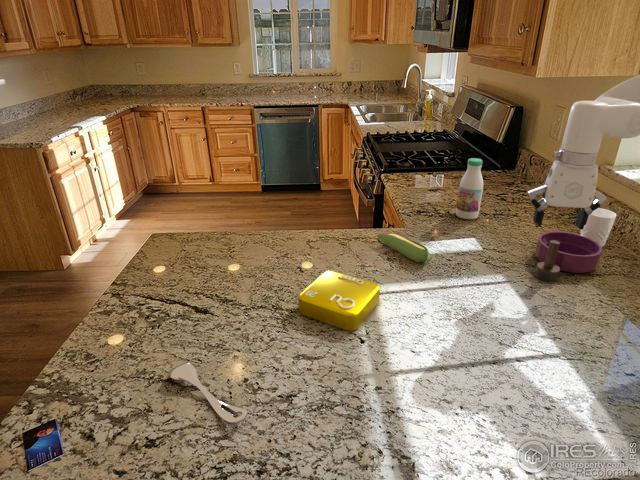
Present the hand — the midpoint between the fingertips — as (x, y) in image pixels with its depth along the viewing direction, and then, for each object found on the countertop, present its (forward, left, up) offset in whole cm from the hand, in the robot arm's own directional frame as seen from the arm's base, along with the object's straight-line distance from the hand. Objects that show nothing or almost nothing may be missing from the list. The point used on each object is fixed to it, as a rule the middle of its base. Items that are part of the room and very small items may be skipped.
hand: (557, 225), depth 105 cm
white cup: (-20, -23, -15) cm, 34 cm away
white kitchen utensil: (+72, +52, -15) cm, 90 cm away
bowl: (-8, -10, -15) cm, 20 cm away
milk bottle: (+14, -40, -15) cm, 45 cm away
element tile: (+52, +21, -15) cm, 58 cm away
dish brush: (0, 0, -15) cm, 15 cm away
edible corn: (+37, -9, -15) cm, 41 cm away
